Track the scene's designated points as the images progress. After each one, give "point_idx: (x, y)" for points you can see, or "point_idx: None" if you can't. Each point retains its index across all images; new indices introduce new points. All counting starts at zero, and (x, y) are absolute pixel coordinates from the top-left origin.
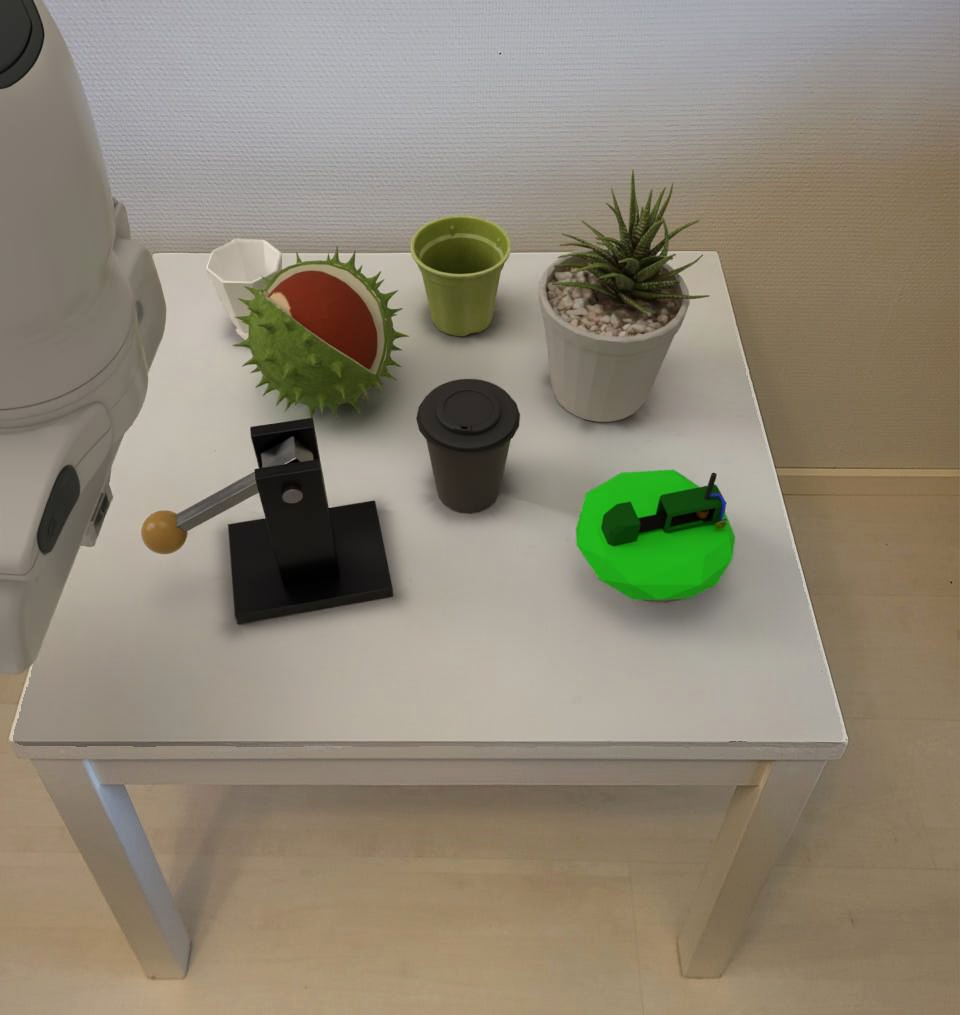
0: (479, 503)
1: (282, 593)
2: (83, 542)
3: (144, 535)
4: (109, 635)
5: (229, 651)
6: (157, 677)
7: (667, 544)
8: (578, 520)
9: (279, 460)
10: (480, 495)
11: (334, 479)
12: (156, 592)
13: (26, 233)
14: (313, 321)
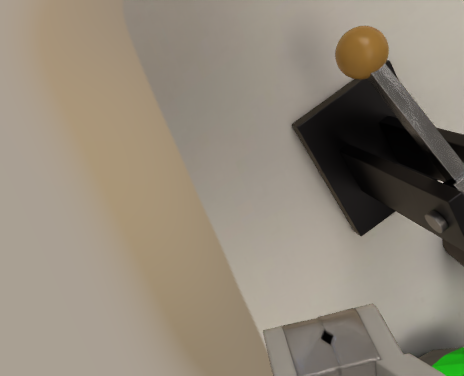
0: (454, 258)
1: (331, 154)
2: (271, 368)
3: (351, 41)
4: (240, 8)
5: (264, 132)
6: (216, 84)
7: None
8: (452, 354)
9: None
10: (462, 264)
11: (457, 121)
12: (299, 26)
13: None
14: None
